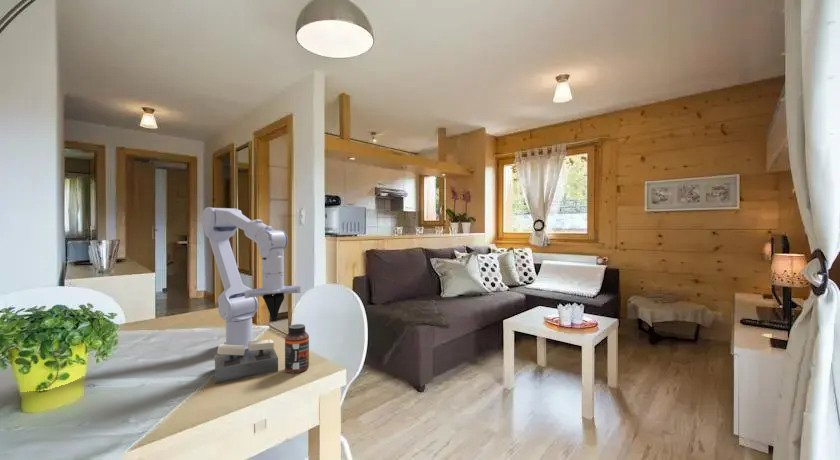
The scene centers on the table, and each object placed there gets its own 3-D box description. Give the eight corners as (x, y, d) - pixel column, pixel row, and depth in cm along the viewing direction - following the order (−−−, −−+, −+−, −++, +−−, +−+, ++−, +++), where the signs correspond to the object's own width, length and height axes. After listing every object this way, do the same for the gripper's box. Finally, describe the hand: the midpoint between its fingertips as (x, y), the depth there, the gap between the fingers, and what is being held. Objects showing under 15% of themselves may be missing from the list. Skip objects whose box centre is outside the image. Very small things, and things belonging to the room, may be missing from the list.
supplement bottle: (301, 374, 89) (301, 330, 89) (280, 373, 90) (279, 328, 90) (313, 365, 95) (313, 323, 94) (293, 363, 96) (292, 322, 96)
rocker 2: (247, 347, 95) (248, 341, 95) (271, 345, 98) (272, 339, 98) (248, 350, 92) (249, 344, 92) (273, 348, 95) (273, 342, 95)
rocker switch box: (215, 368, 93) (214, 352, 92) (272, 358, 100) (272, 343, 99) (215, 384, 84) (214, 366, 84) (278, 371, 91) (278, 354, 91)
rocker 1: (217, 350, 91) (219, 344, 92) (242, 351, 94) (244, 345, 95) (217, 354, 89) (219, 347, 89) (243, 355, 92) (245, 349, 92)
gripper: (245, 276, 93) (246, 328, 93) (302, 272, 100) (303, 320, 101) (243, 273, 99) (244, 321, 99) (297, 269, 106) (297, 314, 107)
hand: (273, 320), depth 100 cm, fingers closed
